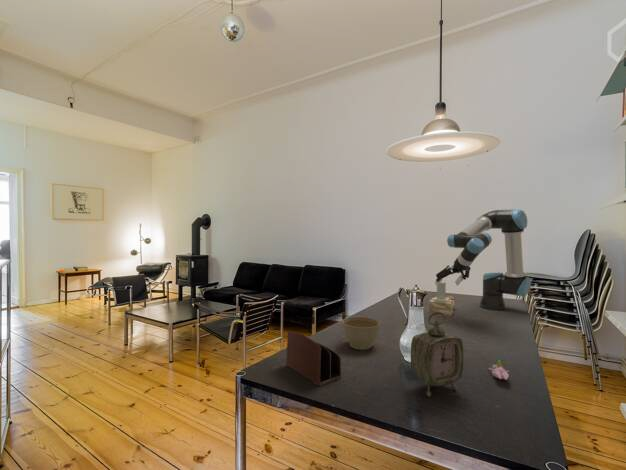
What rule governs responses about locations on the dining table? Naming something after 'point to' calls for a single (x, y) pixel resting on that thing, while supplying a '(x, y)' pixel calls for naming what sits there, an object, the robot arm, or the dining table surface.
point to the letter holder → (312, 359)
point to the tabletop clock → (437, 356)
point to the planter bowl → (360, 331)
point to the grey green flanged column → (441, 293)
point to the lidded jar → (450, 298)
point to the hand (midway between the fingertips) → (446, 284)
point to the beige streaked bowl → (441, 307)
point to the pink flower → (499, 371)
